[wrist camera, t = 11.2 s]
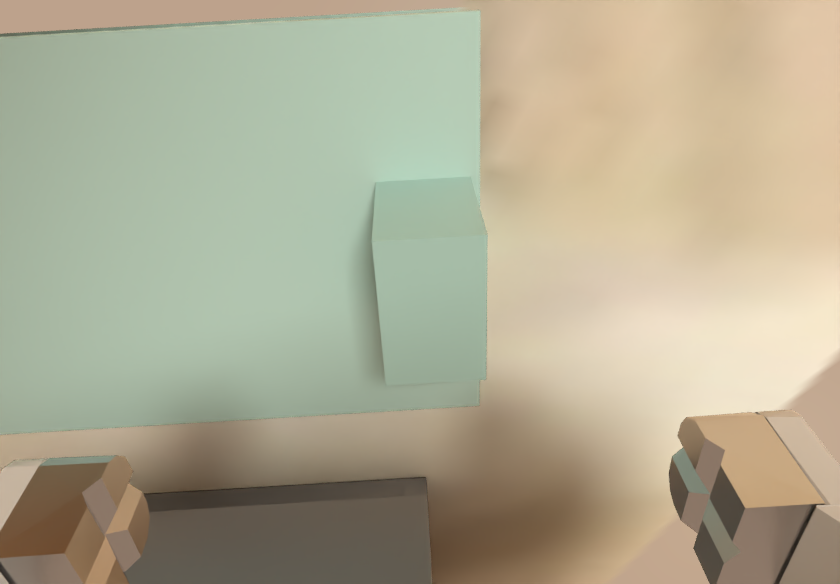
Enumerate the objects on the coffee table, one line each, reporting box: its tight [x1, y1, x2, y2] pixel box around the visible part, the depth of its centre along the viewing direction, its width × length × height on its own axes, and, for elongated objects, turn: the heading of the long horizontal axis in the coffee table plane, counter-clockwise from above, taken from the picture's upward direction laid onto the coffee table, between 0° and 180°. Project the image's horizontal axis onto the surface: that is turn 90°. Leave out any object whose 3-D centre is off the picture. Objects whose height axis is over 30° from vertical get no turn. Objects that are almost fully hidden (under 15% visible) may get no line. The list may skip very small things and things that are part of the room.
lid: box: [0, 7, 488, 435], centre depth 16 cm, size 12×16×4 cm
